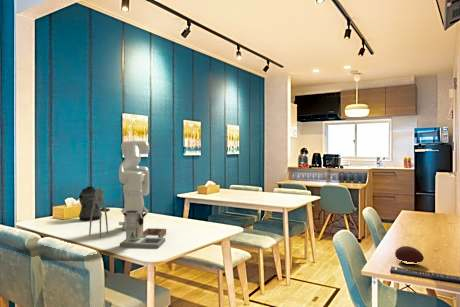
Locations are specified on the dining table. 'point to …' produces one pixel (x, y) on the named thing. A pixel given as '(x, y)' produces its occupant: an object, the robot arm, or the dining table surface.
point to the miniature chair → (99, 200)
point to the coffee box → (133, 225)
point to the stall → (155, 232)
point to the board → (143, 242)
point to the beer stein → (88, 205)
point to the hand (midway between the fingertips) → (134, 224)
